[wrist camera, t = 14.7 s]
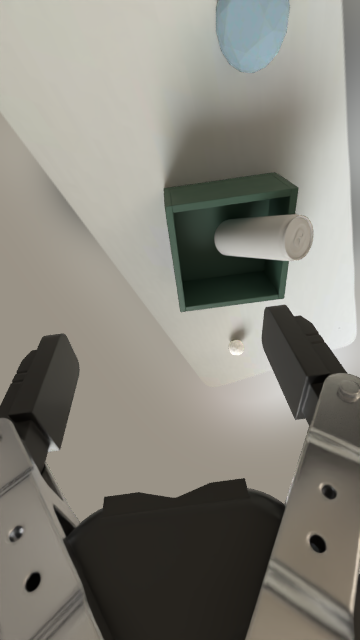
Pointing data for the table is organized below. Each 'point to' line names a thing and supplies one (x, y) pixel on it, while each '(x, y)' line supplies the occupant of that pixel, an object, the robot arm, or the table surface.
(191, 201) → the bin
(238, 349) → the polyhedron
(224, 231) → the beverage can
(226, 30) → the gemstone
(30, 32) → the table surface
